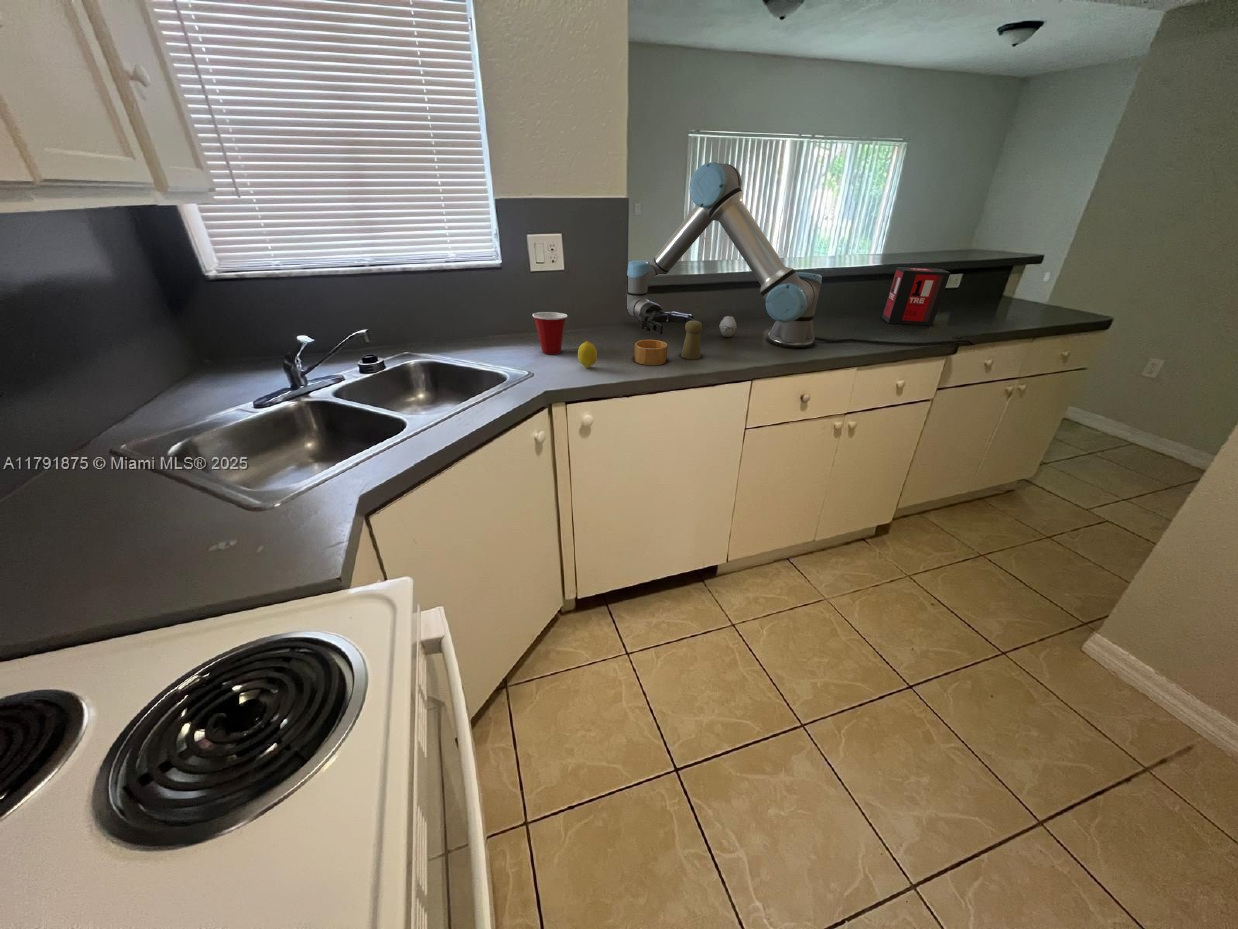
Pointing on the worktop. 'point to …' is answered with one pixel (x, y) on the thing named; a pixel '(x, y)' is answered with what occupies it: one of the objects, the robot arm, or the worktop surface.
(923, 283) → the cleaning product box
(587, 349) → the lemon
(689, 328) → the wooden peg doll
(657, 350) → the wooden cup
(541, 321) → the plastic cup
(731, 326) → the crumpled white ball
